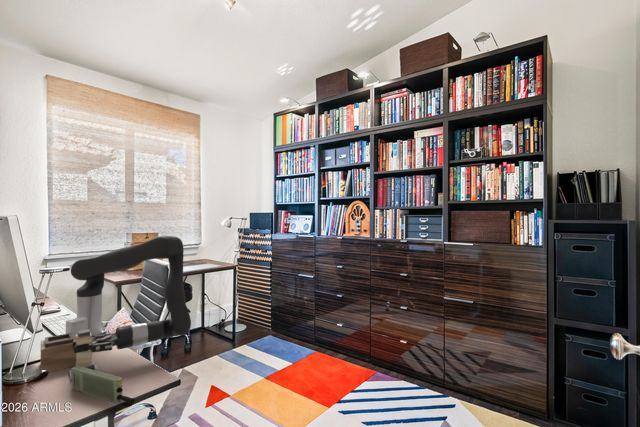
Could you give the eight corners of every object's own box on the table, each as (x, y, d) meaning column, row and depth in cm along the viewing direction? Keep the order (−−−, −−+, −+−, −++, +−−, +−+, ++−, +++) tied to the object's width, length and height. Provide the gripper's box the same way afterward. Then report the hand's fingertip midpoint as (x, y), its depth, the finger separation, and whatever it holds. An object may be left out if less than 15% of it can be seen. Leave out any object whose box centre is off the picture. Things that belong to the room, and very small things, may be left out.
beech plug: (76, 364, 115) (75, 331, 115) (90, 361, 118) (90, 328, 118) (77, 368, 112) (77, 334, 112) (91, 365, 115) (91, 331, 114)
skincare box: (70, 354, 130) (70, 322, 130) (65, 351, 133) (65, 320, 132) (88, 348, 136) (88, 318, 136) (82, 346, 138) (82, 316, 138)
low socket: (69, 373, 115) (69, 369, 115) (95, 366, 120) (96, 363, 120) (70, 381, 109) (70, 378, 109) (99, 374, 114) (99, 371, 114)
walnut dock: (40, 363, 122) (40, 337, 122) (75, 355, 129) (75, 331, 129) (41, 373, 115) (41, 346, 115) (77, 365, 121) (77, 339, 121)
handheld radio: (80, 385, 108) (138, 402, 98) (69, 390, 105) (128, 409, 95) (80, 364, 108) (137, 379, 98) (68, 369, 105) (127, 385, 95)
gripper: (127, 320, 129) (71, 330, 118) (136, 330, 118) (75, 342, 107) (127, 340, 129) (71, 352, 118) (136, 352, 118) (75, 366, 108)
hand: (73, 347), depth 113 cm, fingers closed on beech plug, 4 cm apart
